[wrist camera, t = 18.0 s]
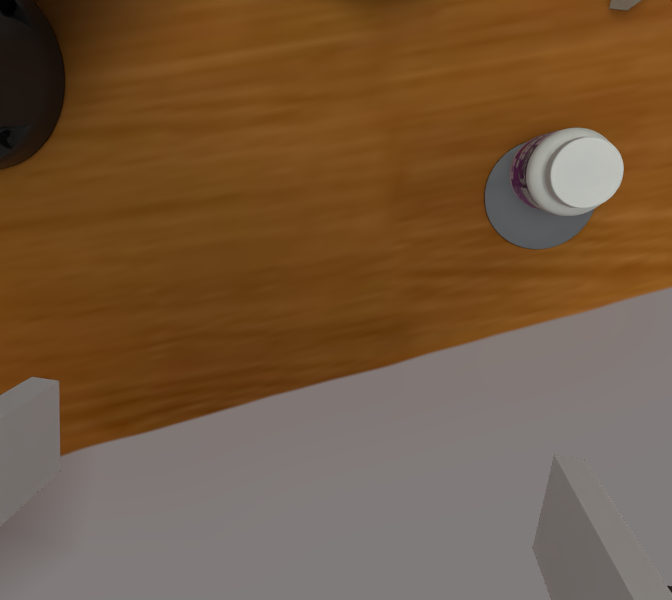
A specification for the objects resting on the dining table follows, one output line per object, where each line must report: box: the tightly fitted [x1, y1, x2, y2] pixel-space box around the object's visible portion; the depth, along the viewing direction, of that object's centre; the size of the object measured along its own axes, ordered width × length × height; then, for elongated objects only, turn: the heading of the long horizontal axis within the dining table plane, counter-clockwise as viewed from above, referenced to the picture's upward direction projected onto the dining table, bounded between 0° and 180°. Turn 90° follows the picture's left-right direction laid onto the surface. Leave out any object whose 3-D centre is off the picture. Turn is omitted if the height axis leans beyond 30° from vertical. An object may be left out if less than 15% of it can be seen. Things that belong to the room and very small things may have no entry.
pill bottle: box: [509, 128, 624, 216], centre depth 36 cm, size 5×5×10 cm
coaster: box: [484, 142, 594, 249], centre depth 41 cm, size 8×8×1 cm
